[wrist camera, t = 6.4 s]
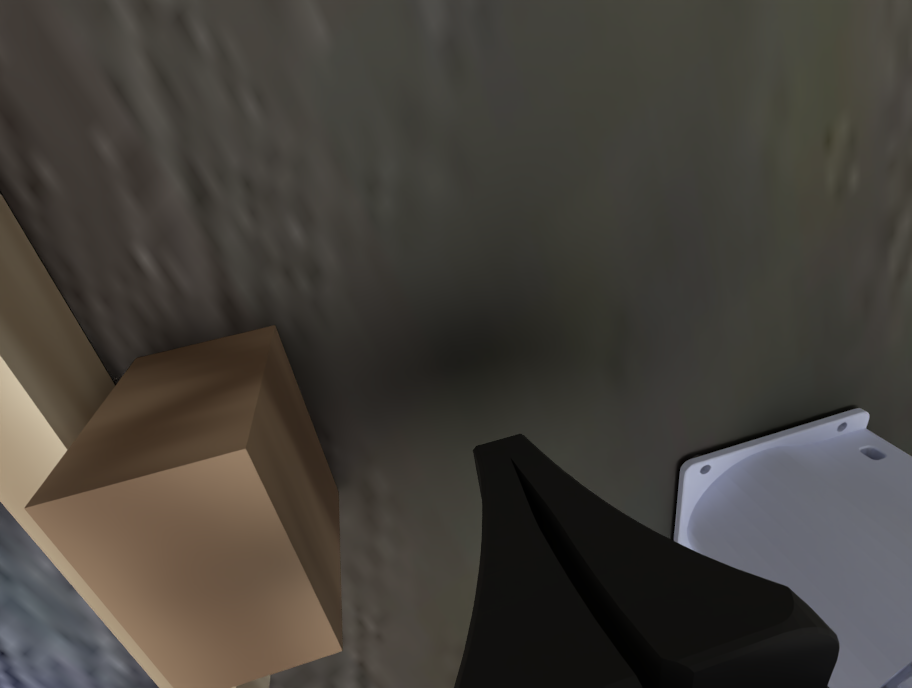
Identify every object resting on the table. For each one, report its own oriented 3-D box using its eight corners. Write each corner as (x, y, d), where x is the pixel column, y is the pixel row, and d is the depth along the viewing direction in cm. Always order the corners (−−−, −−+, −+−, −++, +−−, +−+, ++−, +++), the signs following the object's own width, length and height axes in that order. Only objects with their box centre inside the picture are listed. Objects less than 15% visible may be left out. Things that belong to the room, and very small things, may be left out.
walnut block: (275, 324, 15) (245, 448, 9) (338, 490, 18) (342, 651, 13) (136, 357, 14) (23, 508, 9) (228, 522, 17) (186, 703, 12)
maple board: (-75, 67, 10) (-212, 56, 8) (272, 649, 21) (265, 728, 18) (-182, 83, 10) (-360, 77, 7) (225, 665, 21) (210, 747, 18)
